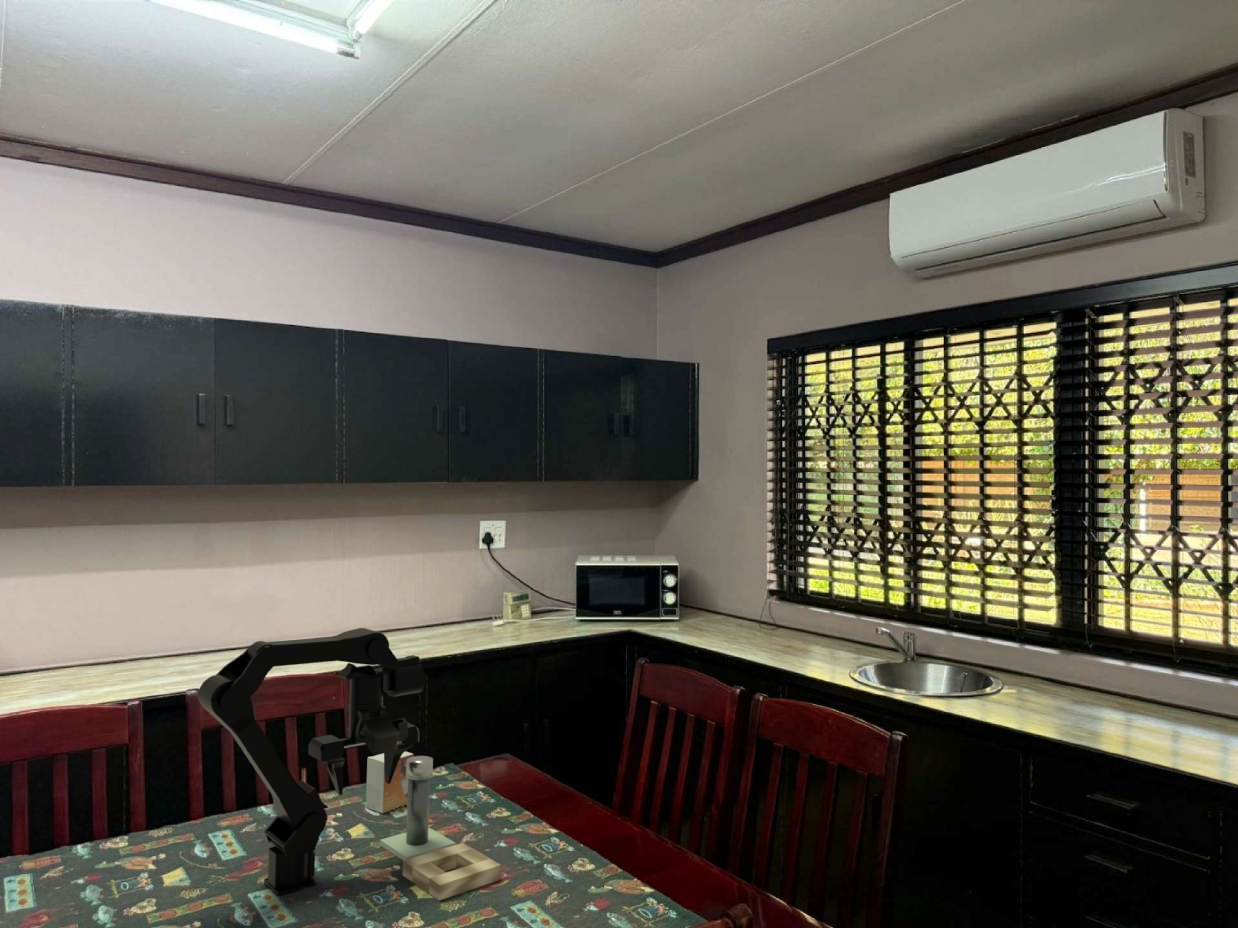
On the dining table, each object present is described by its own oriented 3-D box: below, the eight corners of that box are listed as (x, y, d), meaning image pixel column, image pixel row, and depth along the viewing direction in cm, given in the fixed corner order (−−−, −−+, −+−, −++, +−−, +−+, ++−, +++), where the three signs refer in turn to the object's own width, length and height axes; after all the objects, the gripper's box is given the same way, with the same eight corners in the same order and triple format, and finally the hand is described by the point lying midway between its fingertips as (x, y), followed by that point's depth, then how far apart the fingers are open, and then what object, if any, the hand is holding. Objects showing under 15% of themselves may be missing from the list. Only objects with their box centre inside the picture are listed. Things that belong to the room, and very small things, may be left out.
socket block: (439, 900, 145) (439, 884, 145) (402, 875, 154) (403, 860, 154) (500, 879, 153) (500, 864, 153) (462, 856, 162) (462, 842, 162)
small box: (382, 814, 182) (383, 762, 182) (365, 807, 185) (366, 756, 185) (413, 803, 188) (414, 753, 188) (396, 797, 191) (397, 747, 192)
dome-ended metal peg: (423, 847, 163) (426, 764, 164) (399, 844, 164) (402, 762, 165) (434, 837, 168) (437, 757, 168) (410, 834, 169) (413, 754, 169)
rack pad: (406, 862, 159) (406, 857, 159) (379, 844, 166) (380, 839, 166) (455, 848, 166) (455, 842, 166) (427, 831, 173) (427, 826, 173)
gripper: (336, 718, 147) (334, 814, 147) (436, 701, 160) (434, 789, 159) (308, 705, 155) (305, 795, 155) (404, 689, 168) (402, 773, 168)
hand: (364, 788), depth 159 cm, fingers open, 9 cm apart
